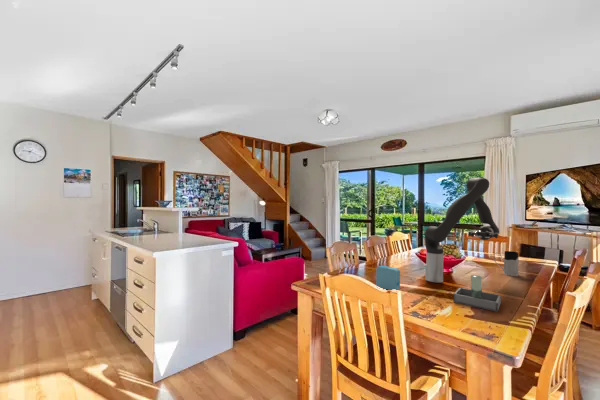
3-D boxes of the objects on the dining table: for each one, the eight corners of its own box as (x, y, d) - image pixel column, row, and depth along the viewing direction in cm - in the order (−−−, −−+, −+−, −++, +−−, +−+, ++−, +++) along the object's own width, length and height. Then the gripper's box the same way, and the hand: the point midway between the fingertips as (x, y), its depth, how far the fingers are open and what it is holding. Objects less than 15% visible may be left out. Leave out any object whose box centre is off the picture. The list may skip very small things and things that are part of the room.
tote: (453, 302, 137) (453, 294, 137) (459, 295, 147) (459, 287, 147) (497, 311, 125) (497, 302, 125) (500, 303, 136) (500, 295, 136)
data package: (399, 290, 153) (400, 268, 153) (396, 292, 150) (396, 270, 150) (380, 285, 162) (380, 264, 162) (375, 287, 158) (376, 266, 158)
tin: (471, 301, 136) (470, 276, 136) (471, 298, 139) (471, 274, 139) (481, 303, 133) (481, 277, 133) (482, 300, 137) (481, 275, 137)
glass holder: (519, 276, 184) (520, 253, 184) (493, 273, 191) (493, 251, 191) (518, 273, 191) (518, 251, 191) (493, 270, 199) (493, 249, 199)
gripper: (471, 225, 174) (466, 227, 162) (499, 227, 165) (496, 229, 153) (471, 238, 174) (466, 240, 162) (499, 240, 165) (496, 243, 153)
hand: (481, 235), depth 157 cm, fingers open, 8 cm apart
